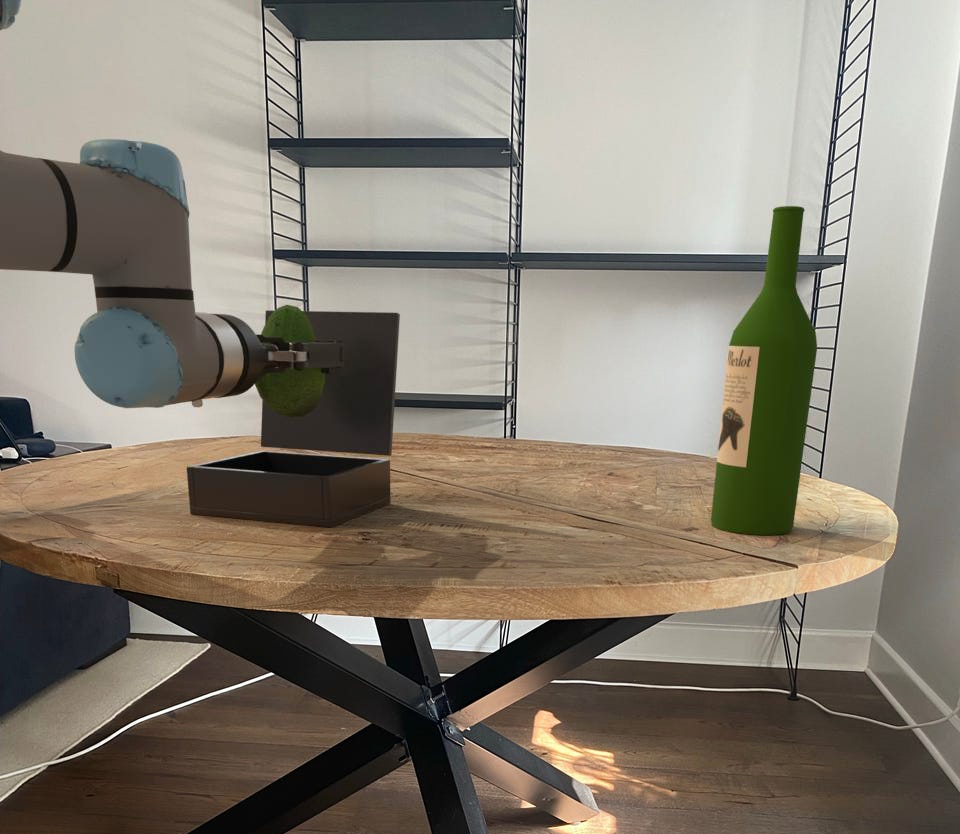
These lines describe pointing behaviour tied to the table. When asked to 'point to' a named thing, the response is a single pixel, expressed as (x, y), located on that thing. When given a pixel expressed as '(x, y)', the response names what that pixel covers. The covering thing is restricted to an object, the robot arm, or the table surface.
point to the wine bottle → (767, 397)
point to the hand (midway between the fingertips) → (304, 352)
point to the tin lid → (346, 389)
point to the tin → (289, 487)
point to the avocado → (292, 387)
